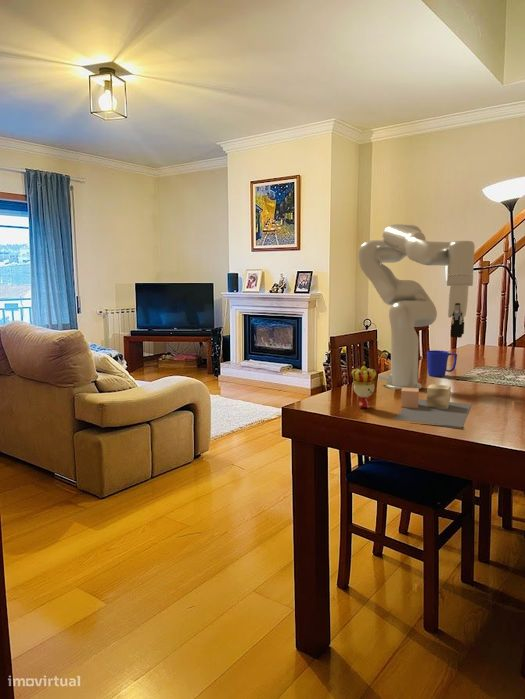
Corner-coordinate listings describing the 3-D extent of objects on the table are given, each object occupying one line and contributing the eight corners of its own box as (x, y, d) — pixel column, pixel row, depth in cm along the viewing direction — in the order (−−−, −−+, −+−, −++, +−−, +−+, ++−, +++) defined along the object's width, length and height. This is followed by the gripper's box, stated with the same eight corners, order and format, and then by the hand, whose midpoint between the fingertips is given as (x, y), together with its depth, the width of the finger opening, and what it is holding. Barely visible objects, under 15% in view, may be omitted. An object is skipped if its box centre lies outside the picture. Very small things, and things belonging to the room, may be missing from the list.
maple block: (426, 407, 155) (427, 387, 154) (429, 403, 160) (430, 384, 159) (447, 409, 152) (448, 389, 151) (449, 404, 157) (450, 385, 156)
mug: (459, 377, 205) (460, 352, 204) (429, 377, 206) (430, 353, 204) (452, 373, 213) (453, 350, 212) (423, 374, 214) (424, 350, 212)
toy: (370, 414, 150) (371, 363, 148) (347, 411, 153) (348, 361, 151) (378, 408, 156) (379, 360, 154) (356, 406, 159) (357, 358, 157)
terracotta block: (400, 406, 155) (401, 390, 155) (401, 403, 160) (401, 387, 159) (418, 408, 154) (418, 391, 153) (418, 404, 159) (418, 388, 158)
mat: (392, 421, 142) (393, 419, 141) (412, 400, 166) (412, 398, 166) (462, 429, 133) (462, 427, 133) (471, 406, 158) (472, 404, 158)
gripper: (449, 281, 169) (447, 332, 171) (444, 281, 153) (442, 338, 155) (474, 281, 165) (471, 333, 168) (471, 281, 150) (468, 339, 152)
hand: (457, 335), depth 162 cm, fingers open, 9 cm apart
